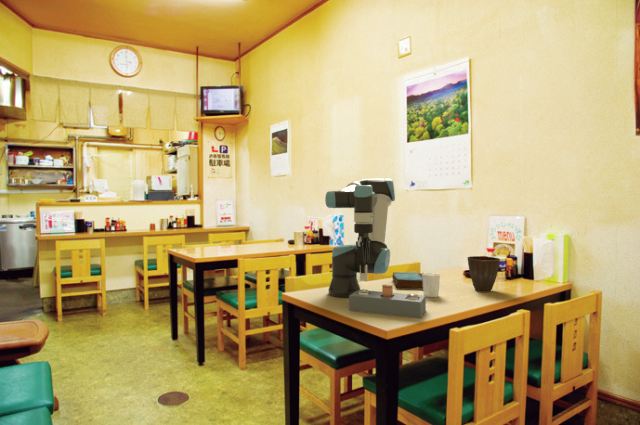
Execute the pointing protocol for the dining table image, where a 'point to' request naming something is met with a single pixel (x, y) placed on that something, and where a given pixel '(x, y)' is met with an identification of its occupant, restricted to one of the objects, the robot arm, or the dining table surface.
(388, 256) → the robot arm
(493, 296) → the dining table surface
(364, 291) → the silver knob
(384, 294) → the terracotta knob middle
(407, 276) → the book
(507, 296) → the dining table surface
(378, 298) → the grey socket block
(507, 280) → the dining table surface
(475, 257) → the plant pot
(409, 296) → the silver knob
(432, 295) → the white cup
